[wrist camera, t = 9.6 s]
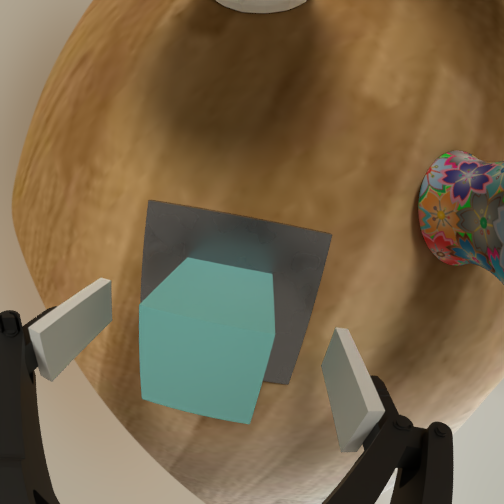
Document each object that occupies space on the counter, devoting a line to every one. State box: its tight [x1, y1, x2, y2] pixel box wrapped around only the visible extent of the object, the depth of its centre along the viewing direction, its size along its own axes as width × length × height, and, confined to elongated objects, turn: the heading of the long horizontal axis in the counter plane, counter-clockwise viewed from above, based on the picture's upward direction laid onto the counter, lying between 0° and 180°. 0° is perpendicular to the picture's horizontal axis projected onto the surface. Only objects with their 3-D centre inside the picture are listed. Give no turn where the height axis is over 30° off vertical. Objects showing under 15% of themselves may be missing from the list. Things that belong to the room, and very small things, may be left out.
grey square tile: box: [141, 200, 332, 384], centre depth 16 cm, size 12×12×6 cm
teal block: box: [139, 257, 275, 424], centre depth 15 cm, size 6×6×8 cm
